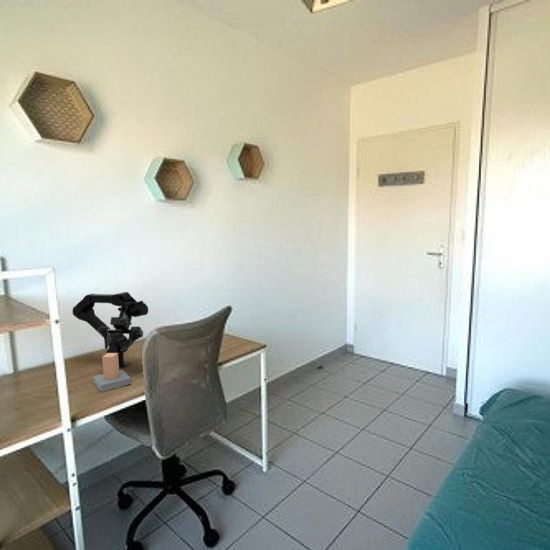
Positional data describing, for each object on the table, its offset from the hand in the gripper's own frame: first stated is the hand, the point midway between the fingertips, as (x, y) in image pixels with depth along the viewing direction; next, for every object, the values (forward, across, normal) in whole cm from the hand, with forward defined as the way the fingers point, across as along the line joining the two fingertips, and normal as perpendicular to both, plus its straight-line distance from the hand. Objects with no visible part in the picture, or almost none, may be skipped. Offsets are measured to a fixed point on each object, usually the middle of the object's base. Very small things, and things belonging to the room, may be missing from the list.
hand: (116, 349), depth 170 cm
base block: (+14, 0, +6) cm, 15 cm away
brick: (+12, 0, +4) cm, 12 cm away
